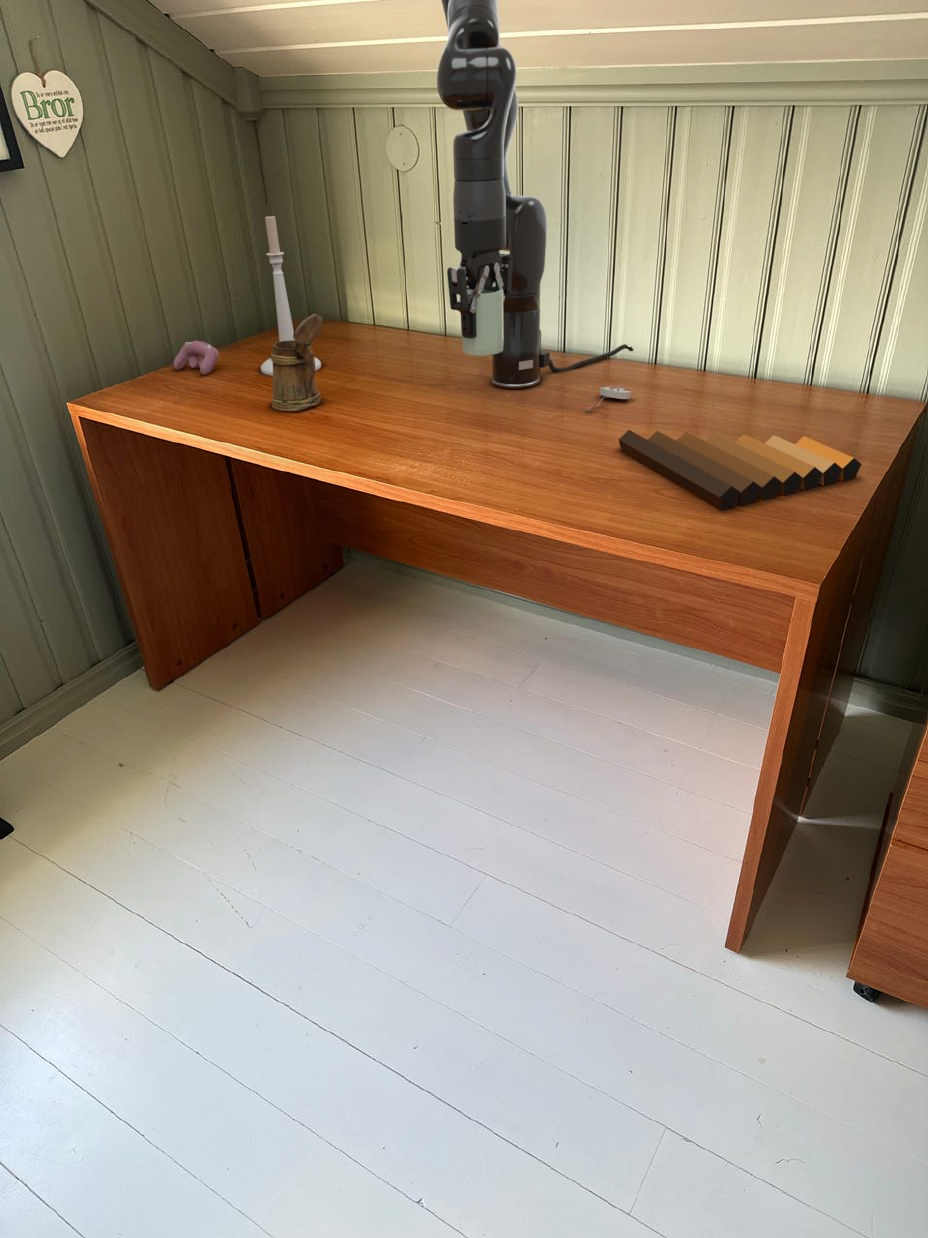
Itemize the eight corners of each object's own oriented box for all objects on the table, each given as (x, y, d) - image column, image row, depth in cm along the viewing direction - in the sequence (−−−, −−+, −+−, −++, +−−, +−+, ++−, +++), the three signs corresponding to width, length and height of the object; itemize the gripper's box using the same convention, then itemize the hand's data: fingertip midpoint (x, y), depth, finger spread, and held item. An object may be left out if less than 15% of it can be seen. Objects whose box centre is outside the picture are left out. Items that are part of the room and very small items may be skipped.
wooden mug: (307, 420, 151) (293, 316, 142) (263, 405, 159) (247, 306, 150) (345, 407, 157) (334, 306, 147) (300, 393, 165) (287, 297, 155)
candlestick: (333, 363, 182) (315, 211, 166) (294, 379, 173) (272, 219, 157) (288, 356, 188) (267, 208, 172) (248, 371, 179) (222, 217, 163)
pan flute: (617, 452, 133) (717, 511, 114) (619, 431, 132) (720, 488, 112) (744, 426, 141) (858, 477, 122) (747, 406, 140) (863, 455, 120)
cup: (477, 342, 136) (476, 283, 131) (511, 347, 132) (510, 287, 127) (454, 352, 131) (451, 291, 126) (488, 357, 128) (487, 295, 123)
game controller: (633, 395, 157) (634, 381, 156) (619, 415, 148) (620, 401, 147) (603, 392, 159) (604, 379, 158) (587, 412, 150) (588, 398, 149)
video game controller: (218, 379, 181) (224, 345, 179) (202, 374, 177) (207, 340, 176) (187, 373, 185) (192, 340, 184) (170, 368, 181) (175, 335, 180)
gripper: (486, 206, 128) (488, 320, 137) (428, 219, 118) (435, 340, 127) (528, 208, 124) (527, 325, 133) (472, 221, 115) (475, 346, 124)
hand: (482, 332), depth 130 cm, fingers closed on cup, 6 cm apart
